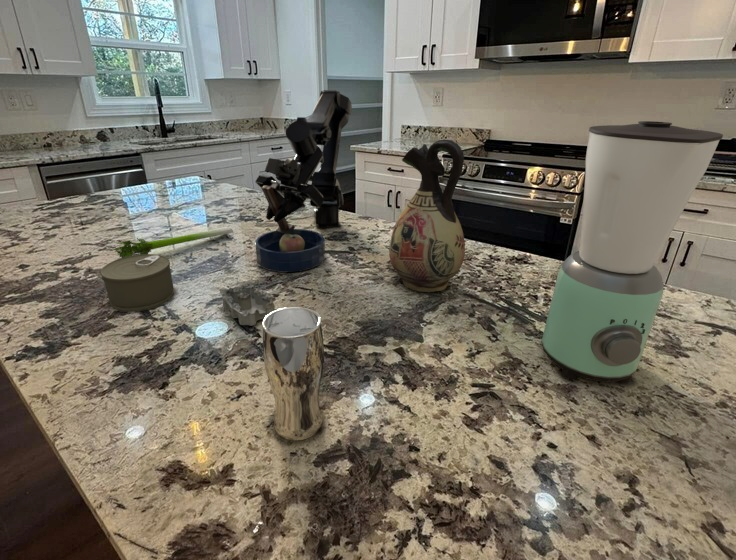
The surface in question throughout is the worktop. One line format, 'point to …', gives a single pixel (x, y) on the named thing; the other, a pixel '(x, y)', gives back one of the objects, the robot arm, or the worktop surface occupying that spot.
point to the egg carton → (247, 303)
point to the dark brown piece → (274, 205)
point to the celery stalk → (165, 242)
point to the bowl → (290, 261)
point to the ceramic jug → (429, 223)
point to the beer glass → (294, 369)
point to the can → (138, 282)
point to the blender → (622, 245)
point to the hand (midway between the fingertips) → (271, 220)
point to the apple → (291, 243)
